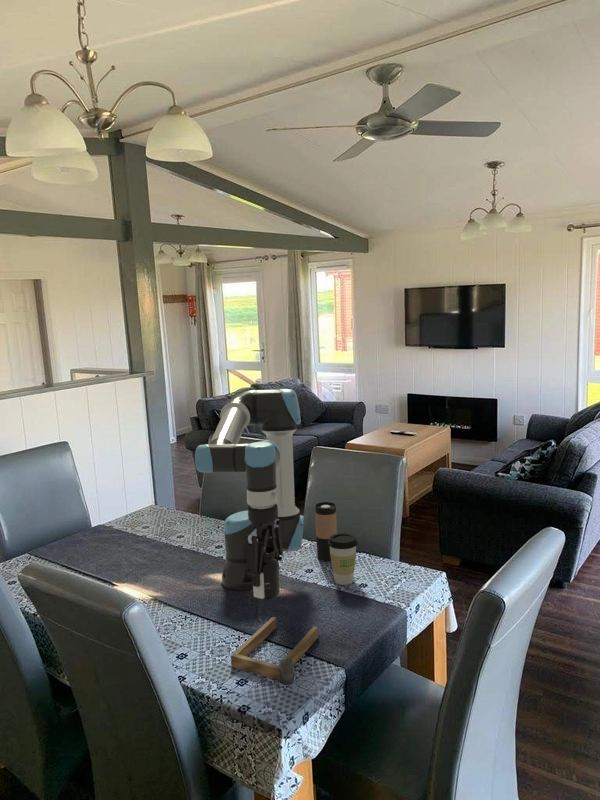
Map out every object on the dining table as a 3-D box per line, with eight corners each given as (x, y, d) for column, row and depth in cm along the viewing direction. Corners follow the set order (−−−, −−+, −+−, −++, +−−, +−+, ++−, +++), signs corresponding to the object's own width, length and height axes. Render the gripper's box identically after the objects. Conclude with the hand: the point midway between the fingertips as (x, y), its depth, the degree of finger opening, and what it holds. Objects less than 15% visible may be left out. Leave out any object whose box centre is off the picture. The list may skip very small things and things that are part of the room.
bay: (229, 668, 149) (228, 650, 148) (272, 626, 168) (272, 610, 167) (289, 685, 141) (288, 666, 140) (327, 639, 160) (327, 622, 159)
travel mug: (315, 554, 218) (313, 502, 215) (336, 552, 219) (334, 501, 216) (318, 562, 210) (316, 509, 208) (339, 561, 211) (337, 507, 208)
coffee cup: (356, 588, 190) (355, 544, 188) (327, 586, 192) (325, 542, 190) (360, 575, 199) (358, 532, 197) (331, 573, 201) (330, 531, 199)
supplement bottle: (259, 603, 145) (257, 557, 144) (249, 592, 151) (247, 548, 150) (284, 596, 148) (282, 551, 147) (273, 585, 155) (271, 542, 153)
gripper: (254, 518, 136) (259, 611, 139) (294, 494, 154) (297, 577, 157) (227, 514, 140) (232, 605, 143) (269, 491, 157) (273, 573, 160)
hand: (266, 590), depth 150 cm, fingers closed on supplement bottle, 7 cm apart
